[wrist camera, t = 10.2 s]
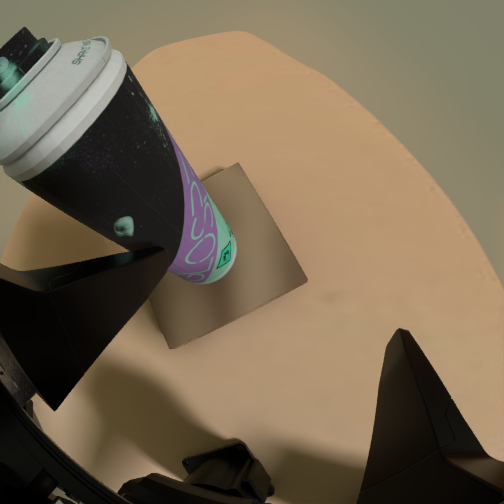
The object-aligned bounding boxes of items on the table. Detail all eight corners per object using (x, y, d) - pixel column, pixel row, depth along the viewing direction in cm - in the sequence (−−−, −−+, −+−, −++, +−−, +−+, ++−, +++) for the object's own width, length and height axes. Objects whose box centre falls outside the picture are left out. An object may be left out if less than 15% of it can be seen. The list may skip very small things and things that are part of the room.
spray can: (210, 298, 21) (-66, 145, 2) (160, 261, 22) (-53, 113, 3) (250, 240, 22) (113, -34, 3) (198, 208, 23) (48, 2, 4)
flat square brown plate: (181, 348, 23) (169, 349, 20) (138, 235, 26) (125, 226, 24) (306, 284, 23) (307, 279, 20) (243, 176, 26) (238, 162, 24)
